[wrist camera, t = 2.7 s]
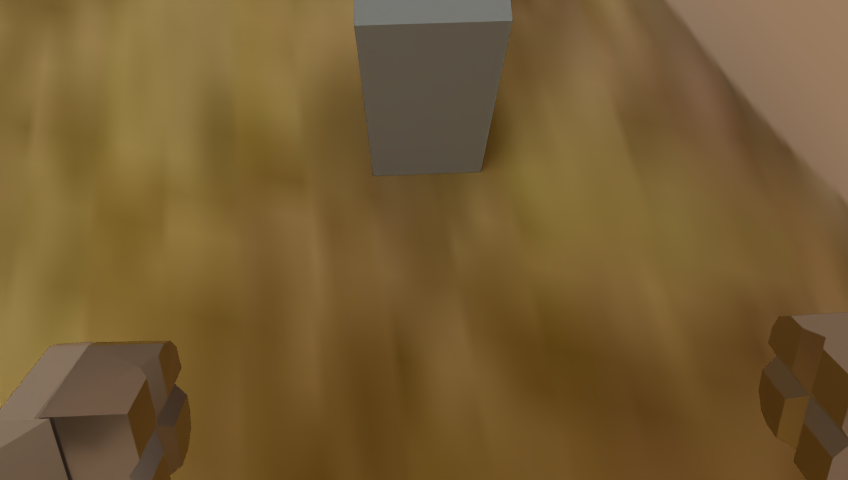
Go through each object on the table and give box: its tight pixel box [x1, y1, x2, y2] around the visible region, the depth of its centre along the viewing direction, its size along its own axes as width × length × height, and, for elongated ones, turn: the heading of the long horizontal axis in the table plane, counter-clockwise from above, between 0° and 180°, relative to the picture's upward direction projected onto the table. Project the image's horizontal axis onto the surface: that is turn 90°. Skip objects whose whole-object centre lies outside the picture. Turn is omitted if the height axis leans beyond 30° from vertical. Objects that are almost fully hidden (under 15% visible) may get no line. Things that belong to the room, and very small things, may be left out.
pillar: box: [354, 0, 513, 176], centre depth 23 cm, size 4×4×9 cm
